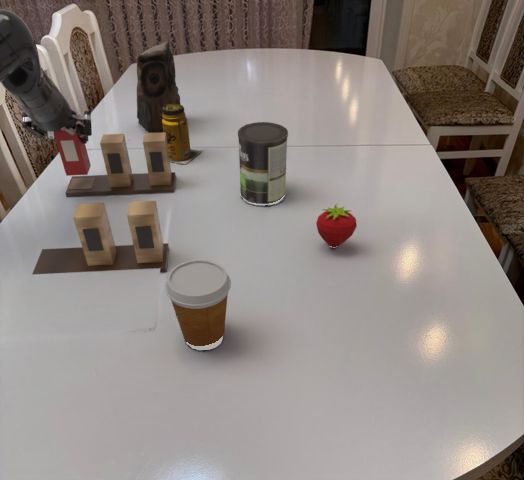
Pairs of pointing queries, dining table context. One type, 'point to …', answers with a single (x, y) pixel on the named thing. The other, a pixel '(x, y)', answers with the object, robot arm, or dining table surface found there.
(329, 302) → the dining table surface
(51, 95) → the robot arm
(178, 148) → the condiment
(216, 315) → the disposable coffee cup
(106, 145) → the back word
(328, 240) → the strawberry
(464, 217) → the dining table surface
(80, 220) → the front word
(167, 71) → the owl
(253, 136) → the coffee can
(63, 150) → the red labeled block
